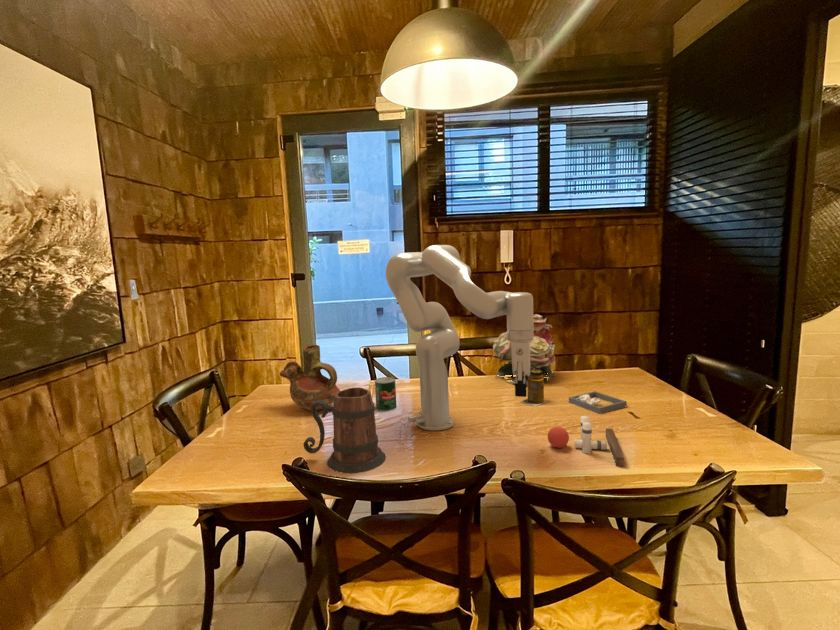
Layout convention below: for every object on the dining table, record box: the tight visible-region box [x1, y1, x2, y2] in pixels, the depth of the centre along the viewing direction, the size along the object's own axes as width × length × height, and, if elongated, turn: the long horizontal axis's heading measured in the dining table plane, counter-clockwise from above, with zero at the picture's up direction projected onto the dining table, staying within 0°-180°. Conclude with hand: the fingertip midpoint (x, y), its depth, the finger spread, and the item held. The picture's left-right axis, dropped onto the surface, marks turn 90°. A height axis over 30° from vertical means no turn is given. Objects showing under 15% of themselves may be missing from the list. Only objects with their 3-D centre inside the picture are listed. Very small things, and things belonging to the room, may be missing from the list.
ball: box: [547, 426, 570, 449], centre depth 132 cm, size 6×6×6 cm
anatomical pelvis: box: [577, 394, 602, 406], centre depth 167 cm, size 8×4×7 cm
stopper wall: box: [605, 428, 626, 467], centre depth 129 cm, size 2×20×2 cm, turn 165°
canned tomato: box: [374, 376, 397, 412], centre depth 172 cm, size 8×8×11 cm
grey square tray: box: [568, 390, 628, 415], centre depth 167 cm, size 14×15×2 cm
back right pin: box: [581, 422, 593, 455], centre depth 128 cm, size 2×2×8 cm
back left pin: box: [580, 415, 591, 440], centre depth 133 cm, size 2×2×8 cm
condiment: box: [520, 370, 549, 407], centre depth 172 cm, size 7×8×12 cm
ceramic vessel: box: [279, 344, 341, 412], centre depth 174 cm, size 17×26×25 cm, turn 76°
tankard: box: [303, 386, 387, 474], centre depth 129 cm, size 24×17×20 cm
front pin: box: [574, 438, 608, 451], centre depth 131 cm, size 2×2×8 cm
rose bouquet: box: [492, 313, 556, 388], centre depth 202 cm, size 26×29×30 cm
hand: (520, 395), depth 134 cm, fingers closed
